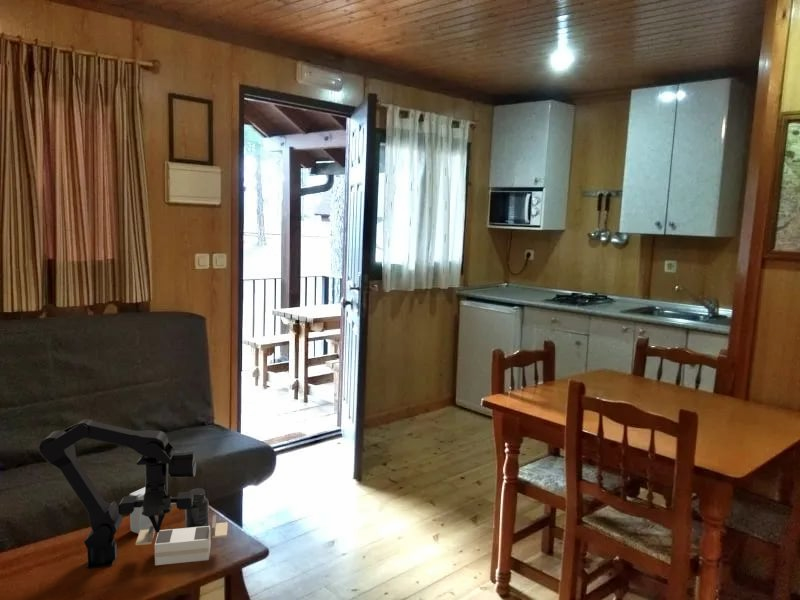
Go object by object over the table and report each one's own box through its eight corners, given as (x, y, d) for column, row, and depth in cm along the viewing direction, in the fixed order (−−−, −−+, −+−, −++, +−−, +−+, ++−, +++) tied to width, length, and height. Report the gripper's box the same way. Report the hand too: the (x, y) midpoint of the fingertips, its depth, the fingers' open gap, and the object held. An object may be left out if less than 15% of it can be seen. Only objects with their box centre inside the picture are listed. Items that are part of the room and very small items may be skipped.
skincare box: (146, 523, 192) (145, 485, 190) (156, 526, 189) (155, 488, 188) (129, 531, 186) (128, 493, 185) (139, 535, 184) (138, 496, 183)
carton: (154, 565, 168) (154, 544, 167) (159, 550, 176) (158, 530, 175) (208, 560, 171) (208, 539, 171) (210, 545, 179) (210, 525, 178)
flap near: (155, 530, 175) (155, 520, 174) (151, 543, 167) (151, 533, 167) (140, 531, 174) (140, 521, 173) (135, 545, 166) (135, 534, 166)
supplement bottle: (180, 530, 187) (179, 493, 186) (197, 521, 193) (196, 484, 192) (197, 536, 184) (196, 498, 183) (213, 526, 190) (213, 489, 189)
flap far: (211, 538, 171) (211, 527, 171) (213, 525, 178) (213, 515, 178) (226, 536, 172) (226, 526, 172) (227, 523, 179) (227, 514, 179)
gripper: (113, 493, 159) (115, 550, 161) (189, 487, 164) (190, 543, 166) (121, 476, 170) (123, 529, 172) (193, 471, 174) (194, 523, 176)
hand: (157, 531), depth 171 cm, fingers closed
